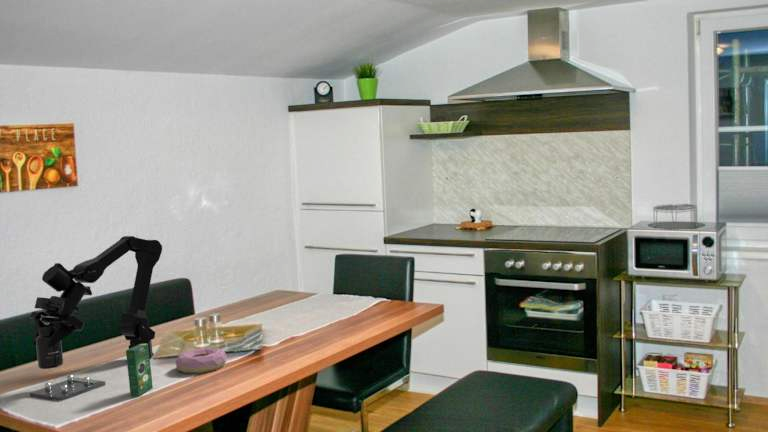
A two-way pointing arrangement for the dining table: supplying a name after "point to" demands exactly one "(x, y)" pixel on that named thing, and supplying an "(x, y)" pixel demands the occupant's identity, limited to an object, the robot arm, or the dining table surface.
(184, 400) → the dining table surface
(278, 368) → the dining table surface
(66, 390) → the chassis
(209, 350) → the donut
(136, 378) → the coffee box
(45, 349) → the supplement bottle
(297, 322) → the dining table surface
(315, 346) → the dining table surface
